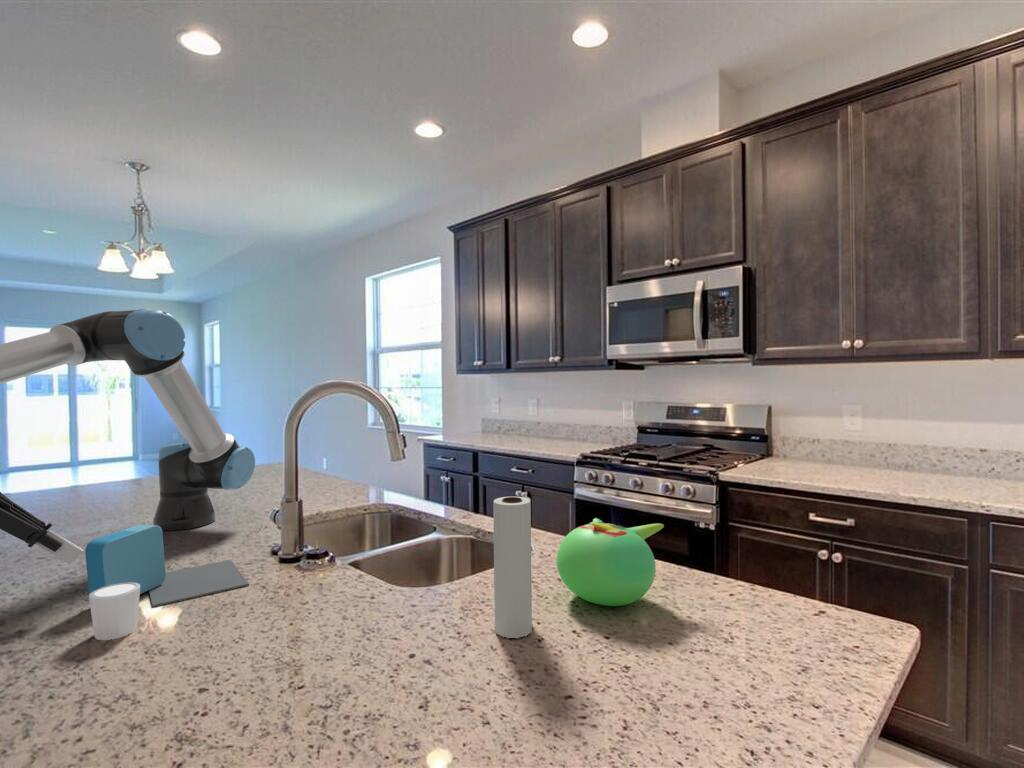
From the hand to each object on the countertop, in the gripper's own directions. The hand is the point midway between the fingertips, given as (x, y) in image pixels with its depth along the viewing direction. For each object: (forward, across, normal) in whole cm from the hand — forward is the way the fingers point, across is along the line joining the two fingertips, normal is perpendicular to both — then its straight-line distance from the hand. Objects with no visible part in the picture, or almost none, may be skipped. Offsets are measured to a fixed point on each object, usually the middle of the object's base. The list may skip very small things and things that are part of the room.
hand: (76, 556), depth 99 cm
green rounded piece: (+61, +58, +48) cm, 97 cm away
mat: (+20, 0, +7) cm, 21 cm away
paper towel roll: (+47, +57, +33) cm, 81 cm away
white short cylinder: (+10, +16, -3) cm, 20 cm away
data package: (+12, 0, -1) cm, 12 cm away
